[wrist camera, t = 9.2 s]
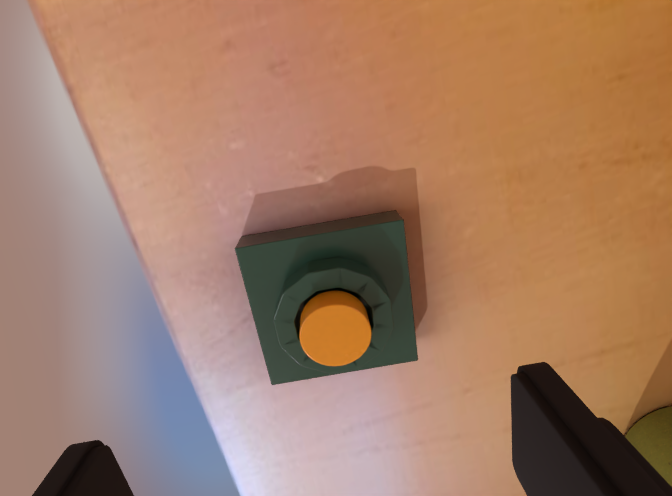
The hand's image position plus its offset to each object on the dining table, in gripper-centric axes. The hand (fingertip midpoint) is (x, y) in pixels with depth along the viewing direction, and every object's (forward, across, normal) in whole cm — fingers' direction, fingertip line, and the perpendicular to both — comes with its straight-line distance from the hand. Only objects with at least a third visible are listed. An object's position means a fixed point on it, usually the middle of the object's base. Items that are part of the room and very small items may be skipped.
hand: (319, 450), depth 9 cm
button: (+13, 0, +5) cm, 14 cm away
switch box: (+17, 0, +5) cm, 18 cm away
